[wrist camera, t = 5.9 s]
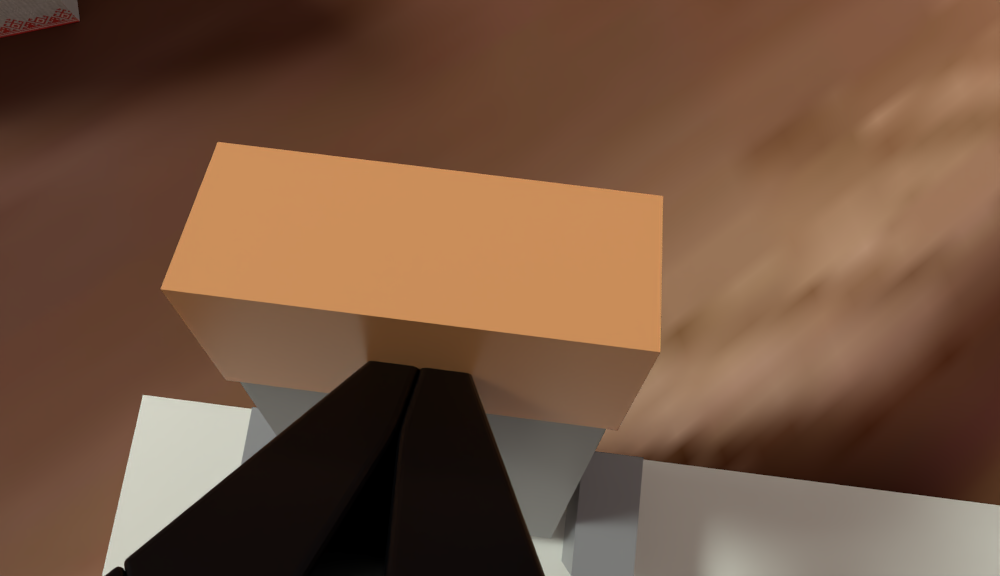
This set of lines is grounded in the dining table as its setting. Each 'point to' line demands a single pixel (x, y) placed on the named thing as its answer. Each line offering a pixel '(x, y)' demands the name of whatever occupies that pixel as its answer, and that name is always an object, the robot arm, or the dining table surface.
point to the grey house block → (35, 15)
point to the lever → (428, 295)
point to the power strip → (613, 511)
